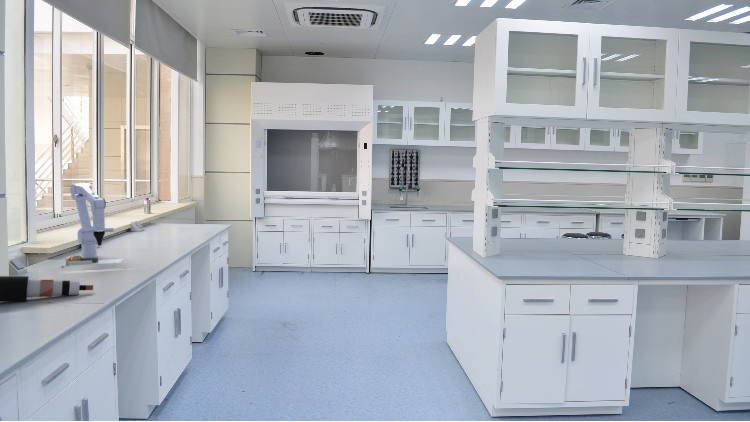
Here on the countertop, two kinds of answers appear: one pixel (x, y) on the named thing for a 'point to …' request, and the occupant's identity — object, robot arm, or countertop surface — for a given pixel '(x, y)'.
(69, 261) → the channel
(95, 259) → the bar
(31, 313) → the countertop surface
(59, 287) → the cable
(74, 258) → the slider block
